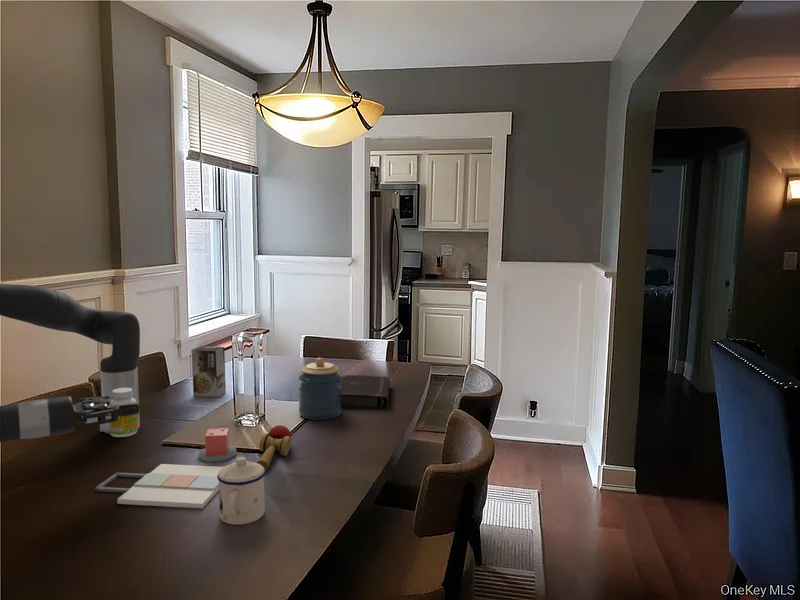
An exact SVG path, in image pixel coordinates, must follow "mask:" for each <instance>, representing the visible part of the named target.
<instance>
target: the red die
mask: <svg viewBox="0 0 800 600" xmlns="http://www.w3.org/2000/svg"><path fill="white" fill-rule="evenodd" d="M204 439H205V440H204V443H205V447H204V448H202V449H200V450H199V451H198V459H199V461H202V462H205V463H222V462H226V461H229V460H232V459H234V458H235V457H236V456H237V447H235V446H233V445H231V444H230V429H229V427H226V428H225V427H224V428H223V427H221V428H208V429H207V431H206V434H205V435H204Z"/></svg>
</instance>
